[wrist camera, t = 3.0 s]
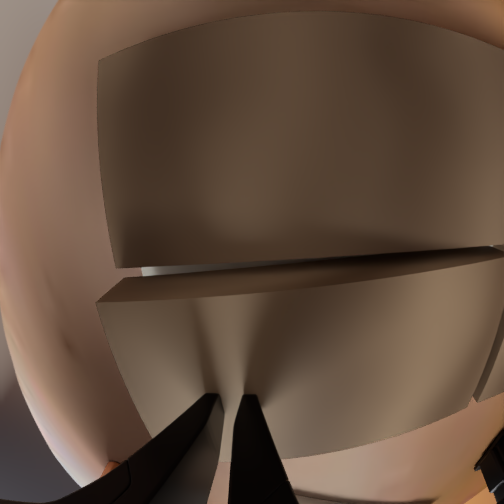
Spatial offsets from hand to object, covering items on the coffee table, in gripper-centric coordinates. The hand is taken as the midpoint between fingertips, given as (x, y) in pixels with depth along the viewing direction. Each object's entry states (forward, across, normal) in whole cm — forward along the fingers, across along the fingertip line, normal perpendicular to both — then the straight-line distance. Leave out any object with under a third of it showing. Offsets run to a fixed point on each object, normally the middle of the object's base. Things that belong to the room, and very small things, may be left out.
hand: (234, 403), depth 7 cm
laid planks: (+3, -6, -4) cm, 8 cm away
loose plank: (+2, -3, 0) cm, 4 cm away
